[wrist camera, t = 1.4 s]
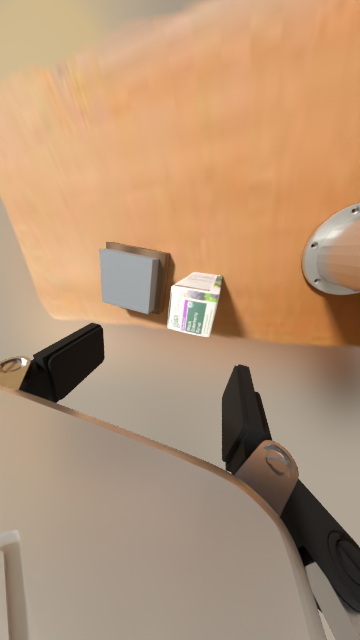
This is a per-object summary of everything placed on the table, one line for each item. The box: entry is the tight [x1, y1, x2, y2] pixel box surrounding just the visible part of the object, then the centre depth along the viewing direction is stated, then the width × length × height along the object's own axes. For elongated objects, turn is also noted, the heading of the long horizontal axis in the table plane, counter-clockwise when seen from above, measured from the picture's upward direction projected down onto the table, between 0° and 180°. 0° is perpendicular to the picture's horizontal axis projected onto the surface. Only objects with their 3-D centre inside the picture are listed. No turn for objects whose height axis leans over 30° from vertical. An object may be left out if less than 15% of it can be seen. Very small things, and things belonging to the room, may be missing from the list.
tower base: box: [106, 242, 170, 314], centre depth 33 cm, size 12×12×3 cm
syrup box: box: [167, 272, 223, 337], centre depth 25 cm, size 6×6×14 cm
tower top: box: [100, 249, 159, 314], centre depth 31 cm, size 10×10×3 cm
